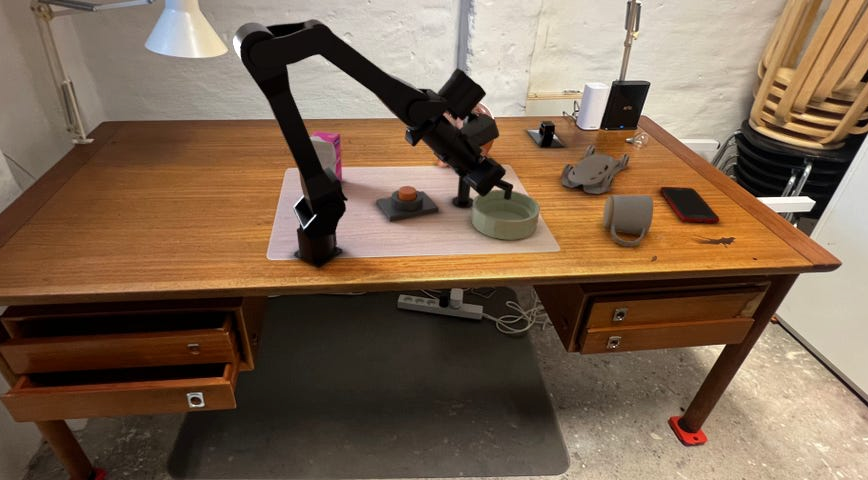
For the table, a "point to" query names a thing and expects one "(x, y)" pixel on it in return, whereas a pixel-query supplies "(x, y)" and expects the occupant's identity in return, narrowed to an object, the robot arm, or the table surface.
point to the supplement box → (328, 151)
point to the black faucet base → (463, 195)
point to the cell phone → (689, 205)
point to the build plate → (546, 136)
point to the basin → (505, 215)
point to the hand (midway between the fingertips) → (490, 184)
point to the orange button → (407, 193)
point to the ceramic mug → (628, 216)
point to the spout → (505, 188)
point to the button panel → (406, 206)
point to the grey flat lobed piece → (593, 172)
